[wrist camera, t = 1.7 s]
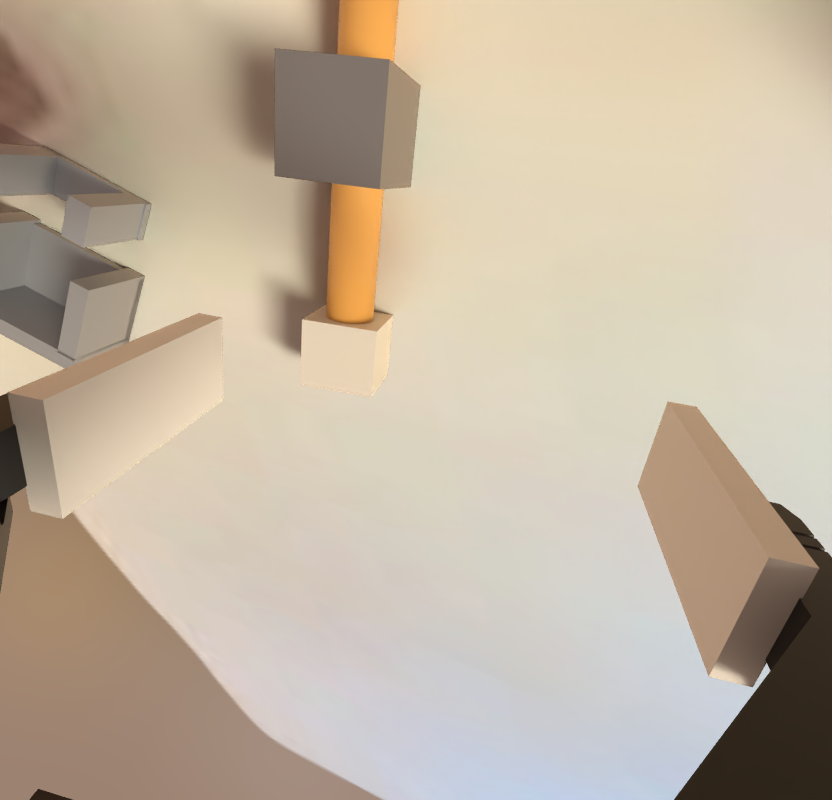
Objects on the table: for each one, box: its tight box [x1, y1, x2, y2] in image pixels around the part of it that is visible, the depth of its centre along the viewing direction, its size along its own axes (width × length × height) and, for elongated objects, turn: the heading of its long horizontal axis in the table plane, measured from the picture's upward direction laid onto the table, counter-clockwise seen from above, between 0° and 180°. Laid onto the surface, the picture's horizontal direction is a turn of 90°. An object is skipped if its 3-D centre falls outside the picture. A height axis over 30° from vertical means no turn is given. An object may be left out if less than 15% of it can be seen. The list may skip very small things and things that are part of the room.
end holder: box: [0, 211, 145, 368], centre depth 34 cm, size 6×9×5 cm, turn 64°
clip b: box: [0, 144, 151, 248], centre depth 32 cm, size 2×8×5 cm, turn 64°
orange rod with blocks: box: [275, 0, 420, 397], centre depth 27 cm, size 25×5×7 cm, turn 174°
